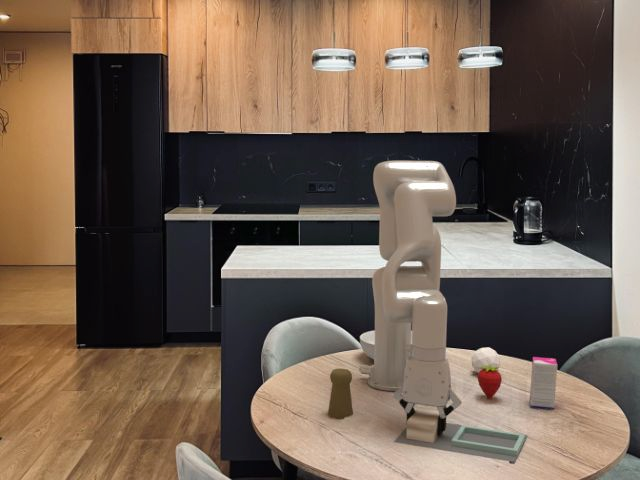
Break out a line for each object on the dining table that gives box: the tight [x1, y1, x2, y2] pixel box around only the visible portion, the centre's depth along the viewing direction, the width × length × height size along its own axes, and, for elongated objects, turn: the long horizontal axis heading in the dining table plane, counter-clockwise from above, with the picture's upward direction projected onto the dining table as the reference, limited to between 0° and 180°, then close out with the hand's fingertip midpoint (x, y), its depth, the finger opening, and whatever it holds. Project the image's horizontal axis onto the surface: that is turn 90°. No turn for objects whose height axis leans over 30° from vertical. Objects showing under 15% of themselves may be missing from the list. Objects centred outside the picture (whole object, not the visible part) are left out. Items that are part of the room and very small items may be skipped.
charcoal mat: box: [393, 422, 528, 464], centre depth 187 cm, size 26×16×1 cm, turn 68°
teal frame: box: [451, 424, 526, 456], centre depth 185 cm, size 14×10×1 cm
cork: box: [327, 368, 354, 420], centre depth 201 cm, size 6×6×11 cm
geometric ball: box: [471, 347, 501, 374], centre depth 234 cm, size 8×8×8 cm
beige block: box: [406, 406, 440, 443], centre depth 190 cm, size 10×6×4 cm, turn 157°
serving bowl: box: [359, 330, 412, 360], centre depth 247 cm, size 21×21×7 cm
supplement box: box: [529, 356, 558, 410], centre depth 210 cm, size 6×6×12 cm
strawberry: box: [477, 363, 503, 400], centre depth 214 cm, size 6×8×10 cm
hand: (425, 430), depth 190 cm, fingers closed on beige block, 6 cm apart
